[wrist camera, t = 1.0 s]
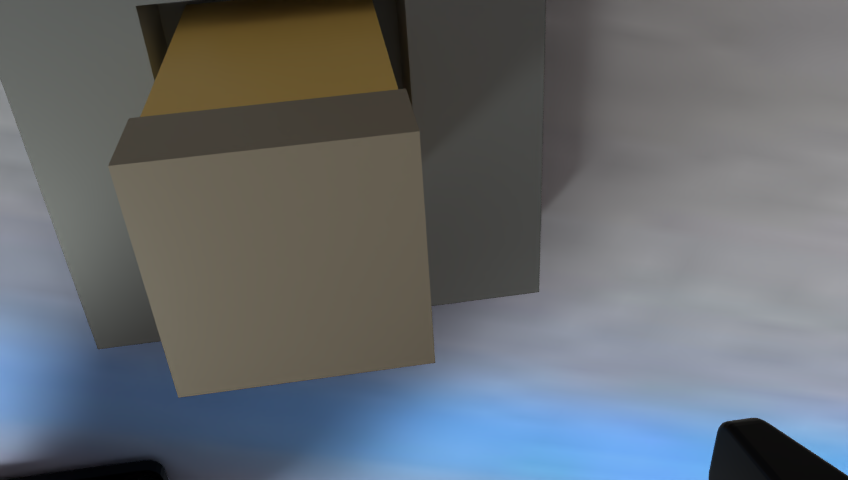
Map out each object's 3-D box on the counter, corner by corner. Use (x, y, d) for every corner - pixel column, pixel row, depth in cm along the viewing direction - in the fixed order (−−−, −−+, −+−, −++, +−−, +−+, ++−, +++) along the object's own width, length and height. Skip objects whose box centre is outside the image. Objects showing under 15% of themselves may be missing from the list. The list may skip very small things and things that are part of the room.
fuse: (218, 172, 20) (178, 397, 13) (179, 0, 17) (107, 165, 11) (387, 152, 20) (434, 362, 13) (372, -18, 18) (420, 131, 11)
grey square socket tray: (117, 290, 22) (98, 349, 20) (-32, -164, 16) (-82, -148, 14) (516, 240, 23) (539, 291, 20) (518, -206, 17) (550, -198, 15)
